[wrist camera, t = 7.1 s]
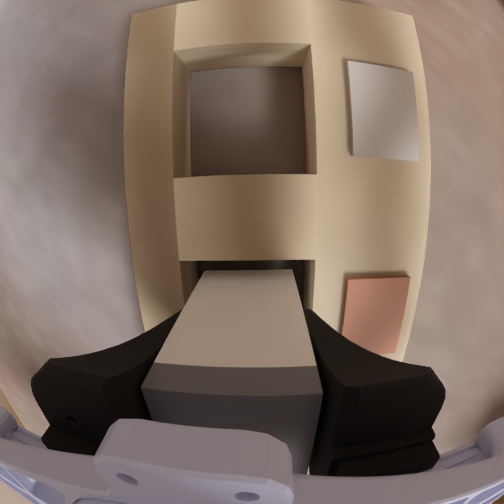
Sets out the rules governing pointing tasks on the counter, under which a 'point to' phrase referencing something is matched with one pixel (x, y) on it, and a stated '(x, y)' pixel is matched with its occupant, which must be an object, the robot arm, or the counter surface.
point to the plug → (241, 361)
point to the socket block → (286, 185)
